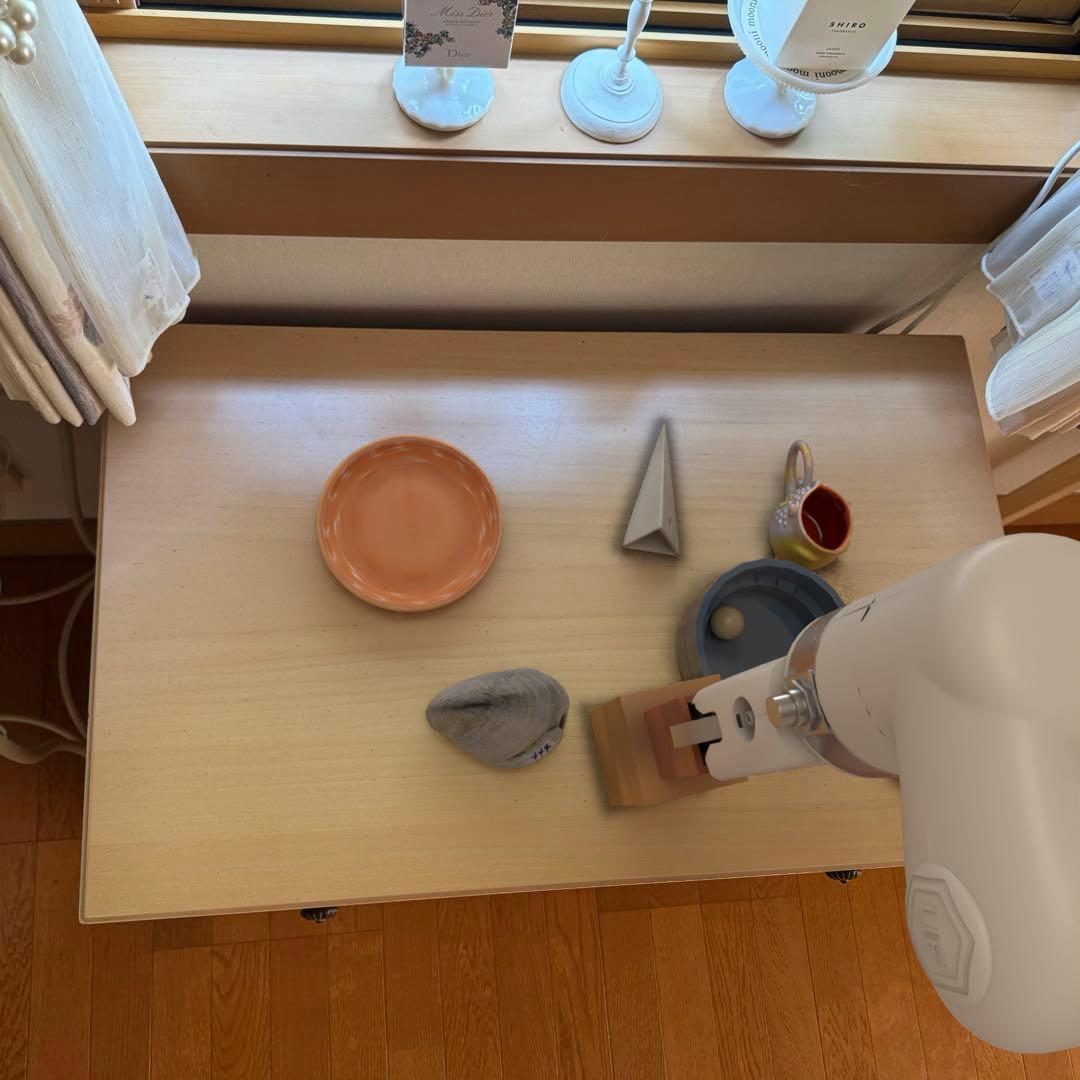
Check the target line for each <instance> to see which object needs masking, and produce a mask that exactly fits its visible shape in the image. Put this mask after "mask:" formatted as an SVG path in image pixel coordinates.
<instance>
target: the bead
mask: <svg viewBox="0 0 1080 1080" xmlns="http://www.w3.org/2000/svg"><path fill="white" fill-rule="evenodd" d="M744 625H745V621H744V617H743V615H742V613H741V612H740V611H739V610H738V609H737V608H735V607H732V606H722V607H720V608H718V609H716V610H715V611H714V612H713V614H712V616H711V619H710V626H711V629H712V631H713V633H714V634H715V635H716V636H718V637H719V638H721V639H725V640H730V639H734V638H736V637H738V636H739V635H740V634H741V633H742V631H743V629H744Z"/></svg>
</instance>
